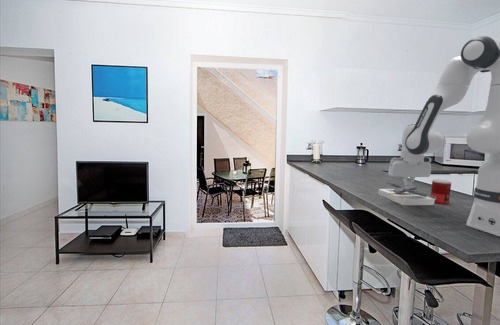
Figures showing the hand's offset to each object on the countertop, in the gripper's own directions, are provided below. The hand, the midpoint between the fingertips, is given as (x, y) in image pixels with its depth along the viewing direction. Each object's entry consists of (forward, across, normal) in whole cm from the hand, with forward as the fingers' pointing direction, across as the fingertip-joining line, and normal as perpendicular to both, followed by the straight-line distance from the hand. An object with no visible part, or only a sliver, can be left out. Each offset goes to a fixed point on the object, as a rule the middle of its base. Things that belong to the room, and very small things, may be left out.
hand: (407, 185), depth 142 cm
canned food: (+9, +19, +1) cm, 21 cm away
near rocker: (+4, +4, 0) cm, 6 cm away
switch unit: (+9, +4, +7) cm, 12 cm away
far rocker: (+4, +4, +14) cm, 15 cm away
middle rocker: (+4, +4, +7) cm, 9 cm away
